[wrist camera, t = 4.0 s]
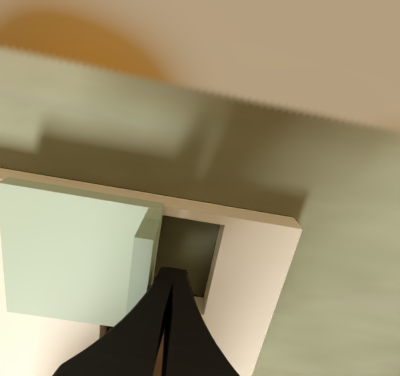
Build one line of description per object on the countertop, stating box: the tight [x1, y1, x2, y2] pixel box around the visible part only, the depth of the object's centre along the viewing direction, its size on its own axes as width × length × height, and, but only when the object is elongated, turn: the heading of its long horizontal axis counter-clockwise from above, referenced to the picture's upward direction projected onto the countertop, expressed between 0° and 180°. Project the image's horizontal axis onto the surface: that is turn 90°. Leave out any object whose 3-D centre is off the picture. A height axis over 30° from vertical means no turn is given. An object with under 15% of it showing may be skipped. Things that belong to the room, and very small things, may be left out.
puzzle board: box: [0, 168, 303, 376], centre depth 16 cm, size 14×20×1 cm
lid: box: [0, 177, 164, 327], centre depth 13 cm, size 8×8×3 cm
